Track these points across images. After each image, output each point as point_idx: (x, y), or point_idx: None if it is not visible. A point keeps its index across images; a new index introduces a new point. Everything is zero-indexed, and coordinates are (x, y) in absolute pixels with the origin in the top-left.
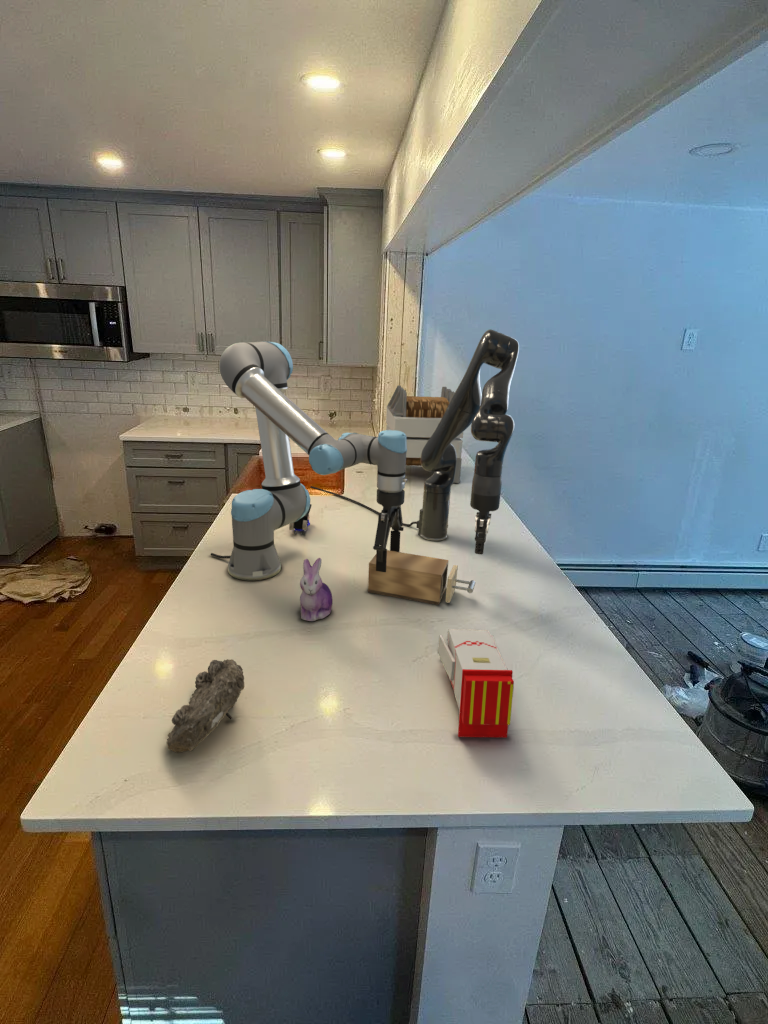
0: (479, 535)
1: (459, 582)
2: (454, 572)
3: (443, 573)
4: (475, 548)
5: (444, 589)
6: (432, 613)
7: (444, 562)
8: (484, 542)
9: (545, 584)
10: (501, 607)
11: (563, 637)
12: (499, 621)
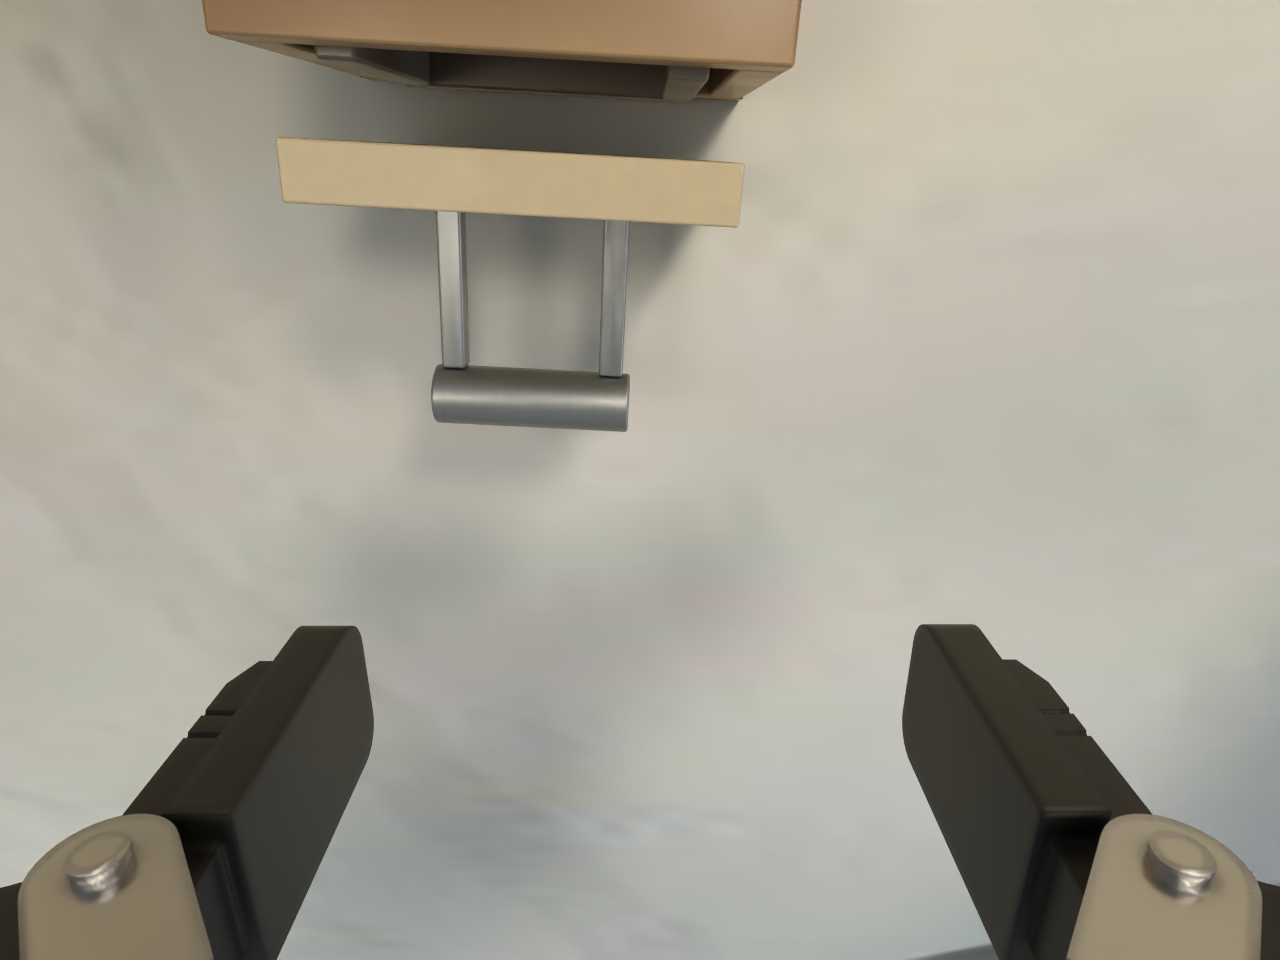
0: (968, 727)
1: (602, 262)
2: (500, 209)
3: None
4: (264, 682)
5: (587, 96)
6: (191, 41)
7: (677, 10)
8: (904, 728)
9: None
10: (547, 594)
11: (320, 908)
12: (333, 590)
